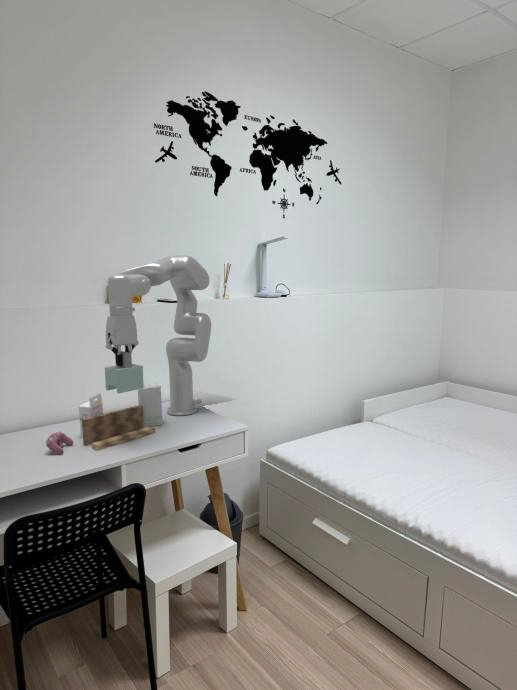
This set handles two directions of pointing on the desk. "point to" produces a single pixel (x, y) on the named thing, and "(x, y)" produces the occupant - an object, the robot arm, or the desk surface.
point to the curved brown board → (114, 427)
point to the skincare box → (151, 404)
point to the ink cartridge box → (90, 409)
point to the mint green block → (124, 375)
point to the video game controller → (58, 442)
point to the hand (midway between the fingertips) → (123, 364)
